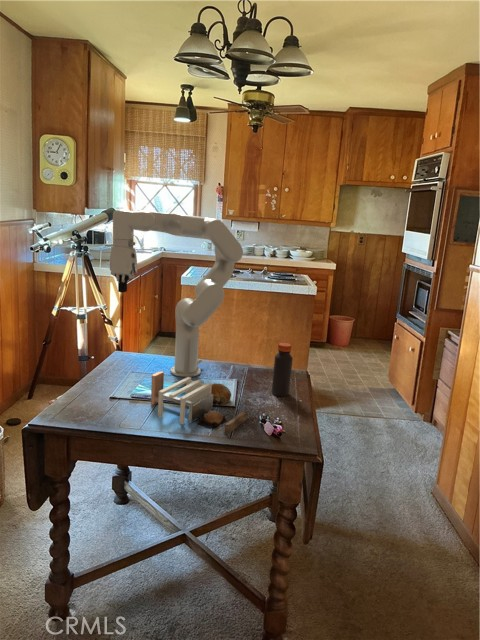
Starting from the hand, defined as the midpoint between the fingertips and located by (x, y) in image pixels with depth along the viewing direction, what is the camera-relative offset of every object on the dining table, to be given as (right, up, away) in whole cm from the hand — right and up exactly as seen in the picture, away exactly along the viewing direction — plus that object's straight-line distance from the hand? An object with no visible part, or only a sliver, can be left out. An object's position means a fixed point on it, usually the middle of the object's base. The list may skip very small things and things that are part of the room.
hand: (122, 291), depth 182 cm
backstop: (+44, -46, -27) cm, 69 cm away
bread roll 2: (+36, -45, -24) cm, 62 cm away
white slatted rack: (+26, -42, -19) cm, 53 cm away
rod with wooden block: (+24, -42, -18) cm, 51 cm away
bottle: (+61, -40, +3) cm, 73 cm away
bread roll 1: (+37, -41, -7) cm, 55 cm away
